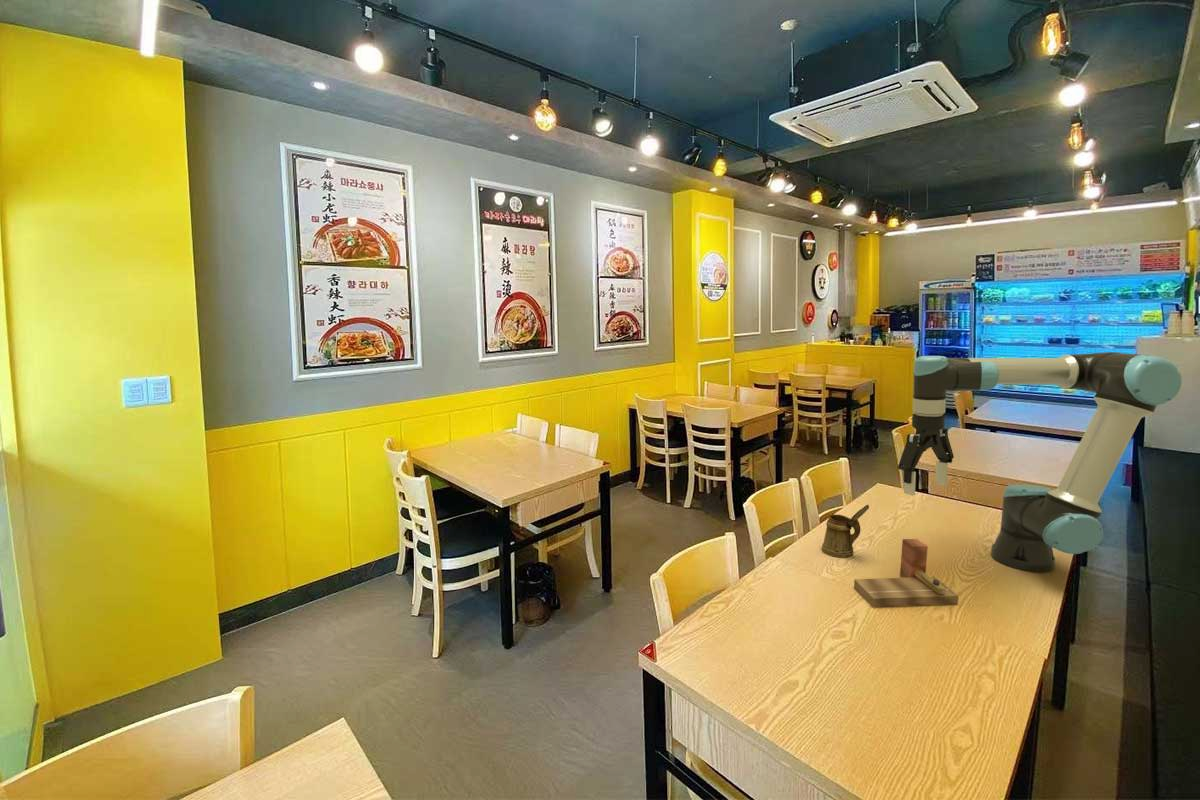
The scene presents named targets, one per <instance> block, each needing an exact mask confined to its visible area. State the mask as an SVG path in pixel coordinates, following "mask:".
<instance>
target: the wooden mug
mask: <svg viewBox="0 0 1200 800" xmlns="http://www.w3.org/2000/svg"><path fill="white" fill-rule="evenodd" d="M869 508H870V505H869V504H866V505H865V506H863V507H862V508H861V509H859V510H858V511H857V512H856V513H855V514H853V516H851V517H848V516H846V515H843V514H837V513H836V514H830V515H829V516H828V519H827V521H826V530H825V535H824V539H823V543H822V545H821V551H822V552H823V553H824V554H826V555H828V556H831V557H836V558H848V557H850V556H852V555H854V546H853V543H854V542H855V541H856V540H857V539H858V538H859V536H860V534H861V524H860V521H859V519H860V517H862V516H863V515H864V514H865V513H866V512H867V511H868V510H869ZM852 528H853V533H851V530H852Z"/></svg>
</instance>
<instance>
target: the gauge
mask: <svg viewBox="0 0 1200 800" xmlns="http://www.w3.org/2000/svg"><path fill="white" fill-rule="evenodd" d="M901 543H902V544H901V557H900V558H901V559H900V571H899V576H900V578H910V577H918V578H919V579H920V580H921V581H923V582H924V583H925V584H926V585H928V586H929V587H930V588H931V589H932V590H934V591H935V592H936V593H937V594H945V591H946V589H945V588H944V587H943V586H941V585H940V584H939V581H940V580H939V579H937V578H936V579H937V580H936V579H932V578H931V577H932V576H930V575H928V573H927V571H926V570H927V561H928V559H927V558H928V545H926V544H925V543H924V542H922V541H920V540H919V539H918V538H903V539H902V542H901Z"/></svg>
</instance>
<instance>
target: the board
mask: <svg viewBox="0 0 1200 800" xmlns="http://www.w3.org/2000/svg"><path fill="white" fill-rule="evenodd" d="M930 577H931V578H932V579H936V580H938V578H936V577H935V576H930ZM939 584H940V585H941V586H943V587H944V588H945V589H946V591H945V594H937V593H936V592H935V591H934V590H932V589H931V588H930V587H929V586H928V585H926V584H925V583H924V582H923V581H921V580H920V579H919V578H918V577H910V578H902V577H887V578H886V577H884V578H859V579H858V578H856V579H855V578H854V582H853V589H854V590H856V592H857V593H859V594H860V596H861V597H862V598H863V599H864V600H865V601H866V602H867V603H868V604H869V605H870V606H871V608H894V607H895V608H898V607H899V608H900V607H925V606H926V607H929V606H955V605H956V606H957V605H959V595H958V594H957V593H956V592H955V591H953V590H951V589H950V588H949V587H948V586H947V585H945V584H944V583H942V581H940V580H939Z"/></svg>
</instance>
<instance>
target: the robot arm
mask: <svg viewBox="0 0 1200 800" xmlns="http://www.w3.org/2000/svg"><path fill="white" fill-rule="evenodd" d="M912 373H913V390H912V391H913V392H912V393H913V394H912V398H913V399H912V412H913V414H912V417H911V426H912V428H914V429H915V434H912V433H908V434H907V435H906V442H905V445H904V448H903V451H902V453H901V454H902V455H901V458H900V460H899V462H898V466H897V468H898V469H899V470H900V471H903V494H904V495H905V494H906V495H910V496H913V497H914V496H915V495H916V482H917V481H916V478H917V477H916V476H917V475H916V474H917V473H916V471H915V469H916V467H917V465H918V463H919V461H920V459H921V458H922V455H923V454H924V452H926V451H927V449H930V448H931V450H932V451H933V453H934V455H935V456H936V459H938V460H937V461H935V479H934V480H935V481H934V484H936V485H938V486H942V487H947V486H948V485H947V481H948V465H949V464H952V463H953V459H954V453H953V448H952V445H951V443H950V439H949V434H948V433H949V430H948V428H946V427H945V426H946V425H945V423H946V422H945V419H946V417H945V415H944V414H945V413H946V401H947V400H946V399H947V392H960V391H961V392H962V391H963V392H967V391H969V392H972V391H973V392H974V391H979V392H981V391H989V390H990V391H991V390H992V389H995V388H996V386H997V385H1006V386H1007V385H1010V386H1011V385H1012V386H1013V385H1017V386H1020V385H1021V386H1024V385H1025V386H1027V385H1028V386H1029V385H1030V386H1036V385H1037V386H1057V387H1058V388H1060V389H1064V390H1068V389H1069V390H1071V389H1072V390H1078V391H1085V392H1090V393H1095V395H1094V397H1093V400H1094V401H1095V403H1096V404H1097V405H1096V406H1097V407H1096V409H1095V411H1094V412H1093V413H1094V414H1093V415H1092V418H1091V419H1090V422H1089V424H1088V426H1087V428H1086V430H1085V432H1084V433H1083V435H1082V438H1081V439H1080V441H1079V444H1078V446H1077V448H1076V449H1075V451H1074V454H1073V456H1072V458H1071V460H1070V461H1069V464H1068V466H1067V468H1066V470H1065V471H1064V474H1063V476H1062V478H1061V480H1060V481H1059V484H1058V486H1057V488H1055V489H1053V488H1050V487H1045V486H1042V485H1034V484H1033V485H1032V484H1010V485H1008V486H1006V487H1005V488H1004V492H1003V496H1002V498H1003V499H1002V500H1003V501H1002V512H1001V518H1000V519H1001V522H1000V530H999V533H998V535H997V537H996V538H995V541H994V543H993V544H992V545H991V546H990V547H991V549H990V556H991V557H992V558H993V559H994V560H995V561H996V562H998V563H1000V564H1002V565H1005V566H1008V567H1011V568H1013V569H1017V570H1023V571H1028V572H1034V573H1037V572H1038V573H1045V572H1050V571H1053V570H1054V569H1055V567H1056V557H1055V555H1054V551H1053V549H1054V550H1057V551H1058V552H1061V553H1064V554H1067V555H1068V554H1069V555H1078V554H1079V555H1080V554H1083V553H1085V552H1089V551H1092V550H1093V549H1095V548H1096V547H1097V546H1098V545H1099V544H1100V543H1101V541H1102V539H1103V537H1104V529H1103V526H1102V524H1101V522H1100V521H1099V519H1100V517H1101V515H1102V513H1103V510H1102V509H1101V507H1100V506H1099V501H1100V499H1101V498H1102V496H1103V493H1104V491H1105V490H1106V488H1107V485H1108V483H1109V481H1110V480H1111V478H1112V476H1113V474H1114V472H1115V470H1116V469H1117V468H1116V467H1117V466H1118V464H1119V462H1120V461H1121V458H1122V456H1123V454H1124V452H1125V451H1126V449H1127V446H1128V445H1129V442H1130V441H1131V439H1132V437H1133V435H1134V433H1135V431H1136V429H1137V426H1138V425H1139V424H1140V421H1141V419H1142V418H1145V417H1147V416H1151V415H1153V413H1154V412H1155V410H1156V409H1157V406H1159V405H1164V404H1166V403H1168V401H1172V400H1173V399H1174V398H1176V396H1177V395H1178V394H1179V392H1180V391H1181V388H1182V383H1183V382H1182V375H1181V372H1180V371H1179V370H1178V367H1177V366H1176V365H1175V364H1174V363H1173V362H1172V361H1170V360H1169V359H1166V358H1164V357H1160V356H1155V355H1149V354H1137V353H1122V352H1116V351H1115V352H1114V351H1113V352H1112V351H1107V352H1103V351H1102V352H1093V353H1080V354H1079V353H1077V354H1062V355H1060V356H1059V357H1054V358H1053V357H946V356H944V355H943V356H942V355H922V356H918V357H917V358H916V359H915V360H914V365H913V372H912ZM948 463H949V464H948Z"/></svg>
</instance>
